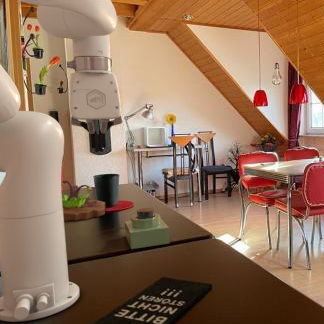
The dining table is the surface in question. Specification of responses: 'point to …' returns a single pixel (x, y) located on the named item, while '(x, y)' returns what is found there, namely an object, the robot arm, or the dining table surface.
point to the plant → (80, 205)
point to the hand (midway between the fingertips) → (98, 151)
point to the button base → (146, 232)
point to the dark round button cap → (145, 213)
